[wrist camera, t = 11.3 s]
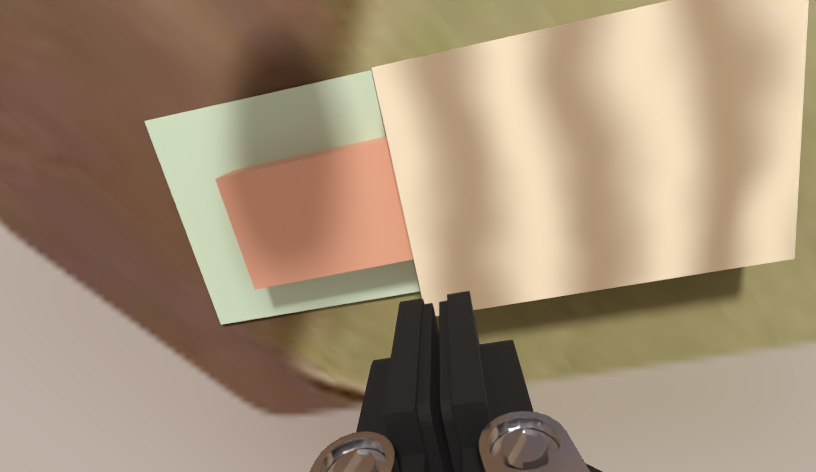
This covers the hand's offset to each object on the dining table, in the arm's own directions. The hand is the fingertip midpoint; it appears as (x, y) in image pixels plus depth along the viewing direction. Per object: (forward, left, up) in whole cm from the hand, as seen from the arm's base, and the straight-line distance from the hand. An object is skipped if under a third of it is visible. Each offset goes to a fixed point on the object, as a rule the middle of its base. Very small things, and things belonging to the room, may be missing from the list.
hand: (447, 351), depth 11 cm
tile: (+7, 0, -18) cm, 20 cm away
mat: (+10, 0, -19) cm, 21 cm away
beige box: (-8, 0, -19) cm, 20 cm away
